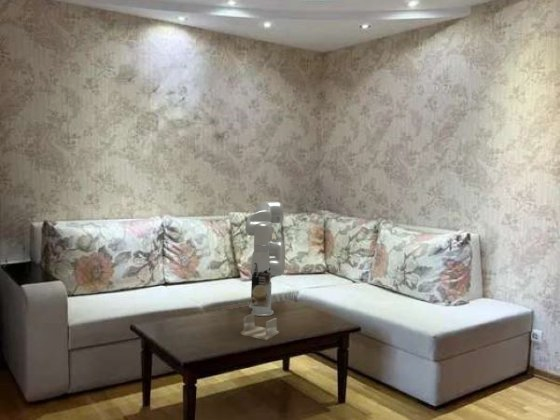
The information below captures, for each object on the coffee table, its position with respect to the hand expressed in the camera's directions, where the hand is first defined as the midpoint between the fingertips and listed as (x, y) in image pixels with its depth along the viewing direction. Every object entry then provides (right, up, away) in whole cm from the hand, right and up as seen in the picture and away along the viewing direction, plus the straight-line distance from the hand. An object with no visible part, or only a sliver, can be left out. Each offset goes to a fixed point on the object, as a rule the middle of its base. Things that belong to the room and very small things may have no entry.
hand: (260, 283), depth 250 cm
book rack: (-1, -26, +2) cm, 26 cm away
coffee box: (0, -11, +1) cm, 11 cm away
